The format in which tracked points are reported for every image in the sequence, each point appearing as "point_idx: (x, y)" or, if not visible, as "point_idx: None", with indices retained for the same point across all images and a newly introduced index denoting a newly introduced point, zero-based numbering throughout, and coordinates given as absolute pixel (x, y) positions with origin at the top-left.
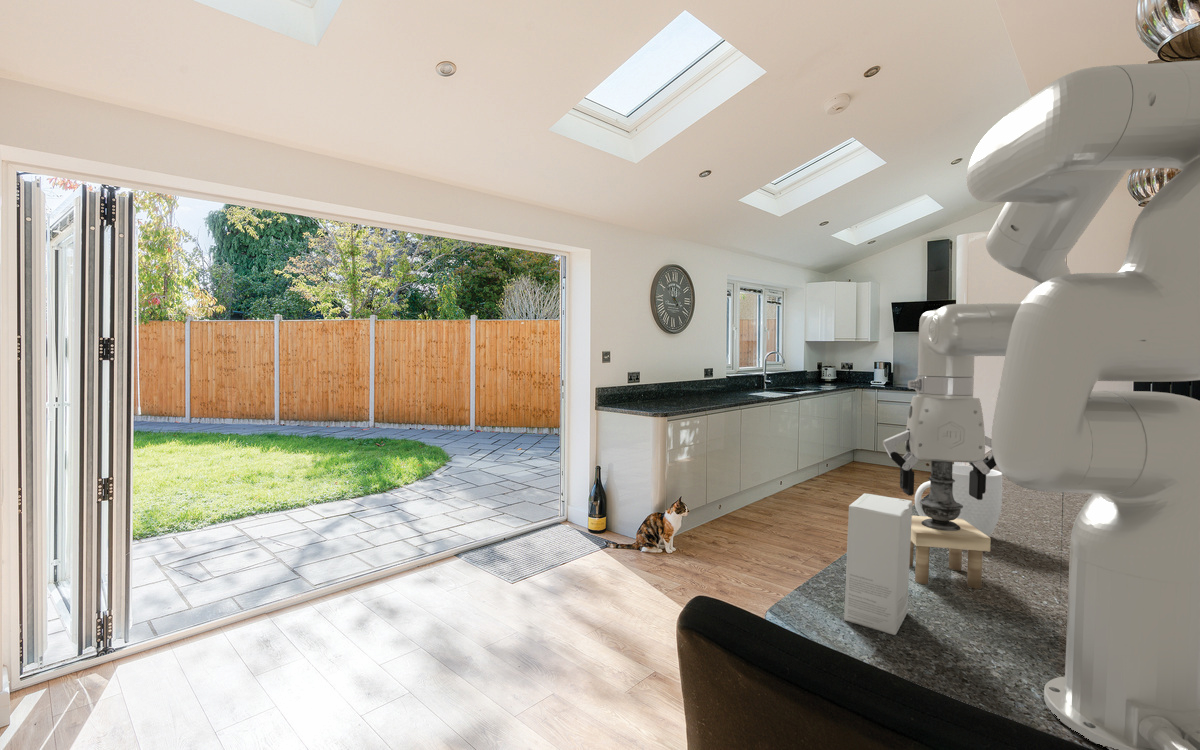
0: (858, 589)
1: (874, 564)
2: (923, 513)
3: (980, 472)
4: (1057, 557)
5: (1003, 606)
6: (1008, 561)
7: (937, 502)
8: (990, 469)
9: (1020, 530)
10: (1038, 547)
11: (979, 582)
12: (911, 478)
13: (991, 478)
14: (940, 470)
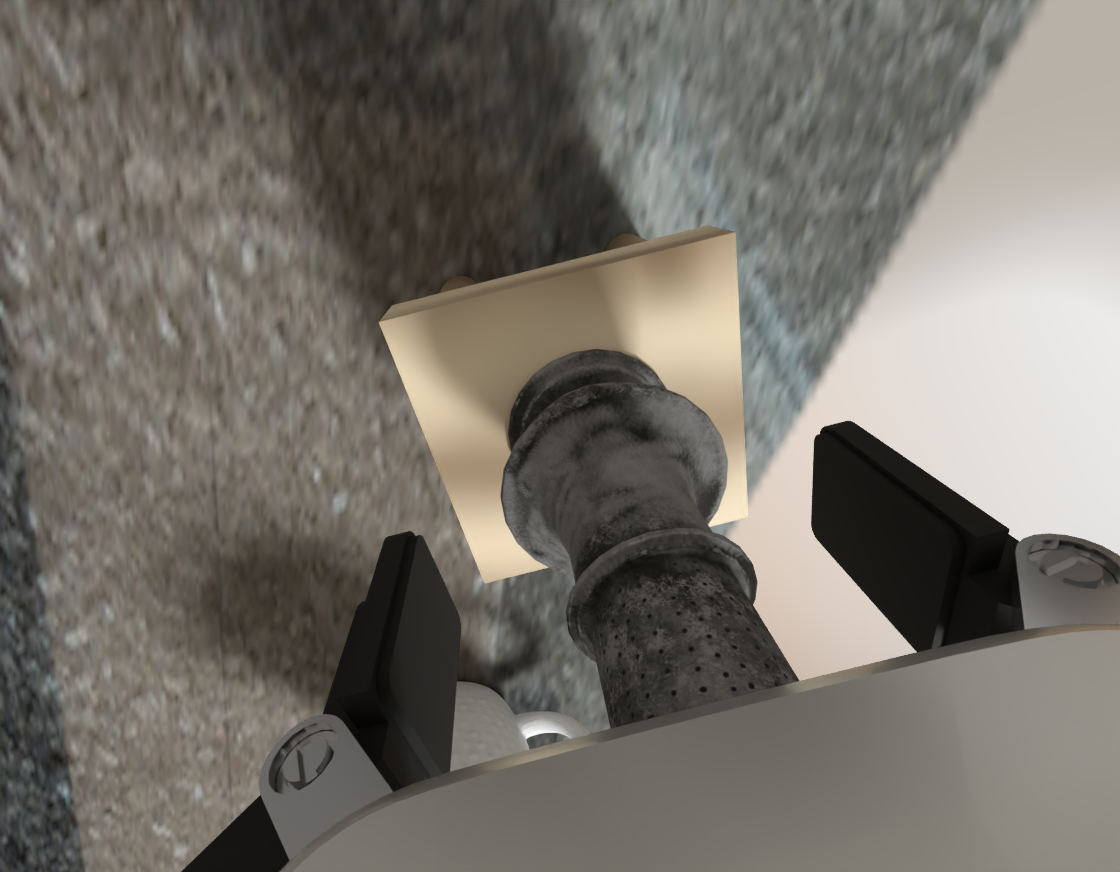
0: None
1: None
2: (575, 731)
3: (360, 738)
4: (232, 668)
5: (377, 130)
6: (354, 578)
7: (655, 436)
8: (259, 800)
9: None
10: (280, 715)
11: (445, 284)
12: (930, 488)
13: None
14: (729, 624)
